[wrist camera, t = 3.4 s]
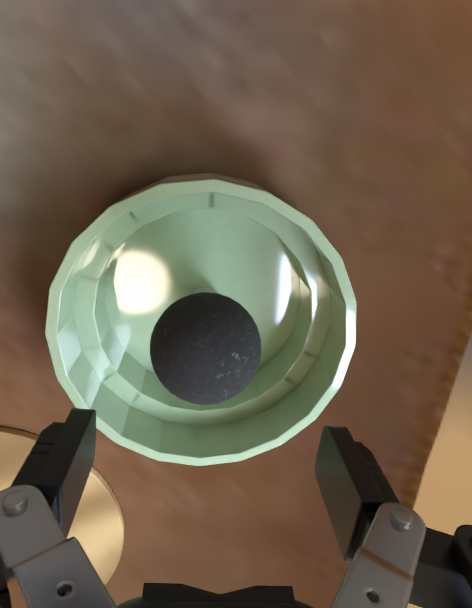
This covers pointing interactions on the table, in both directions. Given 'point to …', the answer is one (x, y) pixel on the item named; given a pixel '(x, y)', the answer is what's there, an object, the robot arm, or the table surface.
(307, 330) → the bowl
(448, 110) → the table surface
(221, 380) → the light bulb
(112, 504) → the disc
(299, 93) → the table surface
